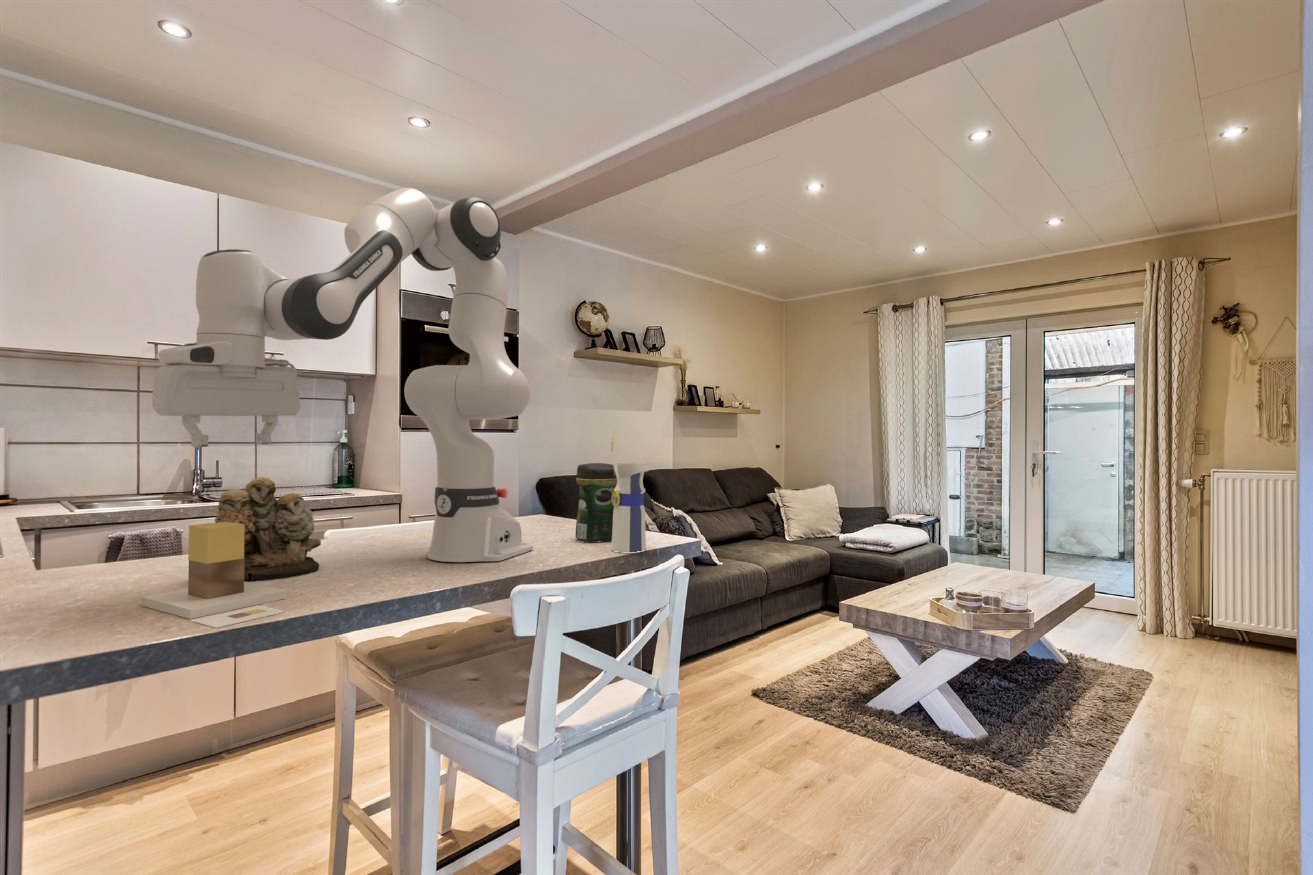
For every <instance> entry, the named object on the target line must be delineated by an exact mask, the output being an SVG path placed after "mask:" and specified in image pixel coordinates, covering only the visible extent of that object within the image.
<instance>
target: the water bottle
mask: <svg viewBox="0 0 1313 875" xmlns="http://www.w3.org/2000/svg"><path fill="white" fill-rule="evenodd" d="M611 439H612V440H611V447H610V448H611V449H610V452H613V449H614V448H613V447H614V436H612V438H611ZM612 465H613V470H614V475H615V474H616V477H617V482H616V485H615V489H614V492H613V494H612V504H613V506H614V510H613V531H612V540H611V545H610V546H611V548H610V550H613V551H618V552H637V551H642V550H646V551H647V541H646V508H645V505H644V494H645V492H646V488H645V487H644V482H643V481H644V475H645V472H649V471H650V467H649V464H648V463H647V462H633V461H632V462H631V461H627V462H612Z"/></svg>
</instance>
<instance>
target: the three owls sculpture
mask: <svg viewBox="0 0 1313 875" xmlns="http://www.w3.org/2000/svg"><path fill="white" fill-rule="evenodd" d="M276 490H277V488H276V483H275V482H274V481H273V480H271V479H270V478H268V477H265V476H261V477H260V476H258V477H256V478H254V479H251V480H250V481H249V482H248V483H247V484H246V485H245V487H244V490H242V489H240V488H231V489H228V490H227V491H225V492H223V493H222V494H221V495H220V498H219V501H218V505H217V506H218V508H217V510H218V511H217V513H218V515H217V516H216V517H215V518H214V523H218V522H231V523H238V524H245V534H244V558H245V559H244V582H248V581H249V574H250V575H251V577H250V580H251V581H254V582H262V581H271V580H280V579H281V580H282V579H288V578H293V577H298V576H299V577H300V576H303V575H304V576H305V575H308V574H312V573H313V572H314V571H315V572H317V571H318V570H319V569H320V563H319V562H318V561H316V560H315V559H314V558H313V557H312V556H307V555H308V552H311V551H312V550H314V549H317V548H318V547H320V546H321V545H322V540H321V539H320V538H319V539H318V538H310V537H311V535H313V533H314V531H315V521H314V517H313V515H314V514H313V511H312V510H311V509H310V508H308V507H307V506H306V502H305V500H304V498H303V496H302V495H301V494H299V493H296V492H295V493H294V492H293V493H292V492H291V493H287V494H284V495H282V496H280V497H279V498H278V499H277V498H276V496H275V492H277V491H276Z"/></svg>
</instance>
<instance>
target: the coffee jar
mask: <svg viewBox="0 0 1313 875" xmlns="http://www.w3.org/2000/svg"><path fill="white" fill-rule="evenodd" d="M612 464H613V463H612ZM612 464H610V463H603V462H593V463H592V462H591V463H583V464H579V465H578V466H577V468H576V477H575V481H576V484H577V488H578V505H577V513H576V514H577V516H576V525H575V539H576V540H577V541H579V542H581V541H584V542H589V543H599V542H598V541H604V542H608V541H609V542H610V541H612V531H613V510H614V506H613V504H612V494H613V492H614V489H615V487H616V484H617V477H616V474H615V475H614V470H613V465H612Z"/></svg>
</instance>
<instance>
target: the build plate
mask: <svg viewBox="0 0 1313 875" xmlns="http://www.w3.org/2000/svg"><path fill="white" fill-rule="evenodd" d="M286 599H287V590H286V589H282V588H281V589H280V588H276V587H271V586H266V585H263V584H257V583H252V582H248V581H246V582H244V592H243V593H238V594H233V595H228V596H222V597H217V598H212V599H203V598H199V597H195V596H191V595H188V588H183V589H178V590H173V591H172V590H171V591H166V592H161V593H155V594H150V595H149V594H148V595H144V596H141V597H140V606H142V607H147V608H149V609H153V610H157V611H161V612H164V613H166V614H167V613H168V614H172V615H174V616H178V617H183V618H185V619H189V620H194V619H199V618H203V617H208V616H212V615H217V614H222V613H226V612H231V611H236V610H240V609H245V608H249V607H254V606H259V605H262V604H266V603H271V602H276V601H280V600H281V601H282V600H286Z"/></svg>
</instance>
